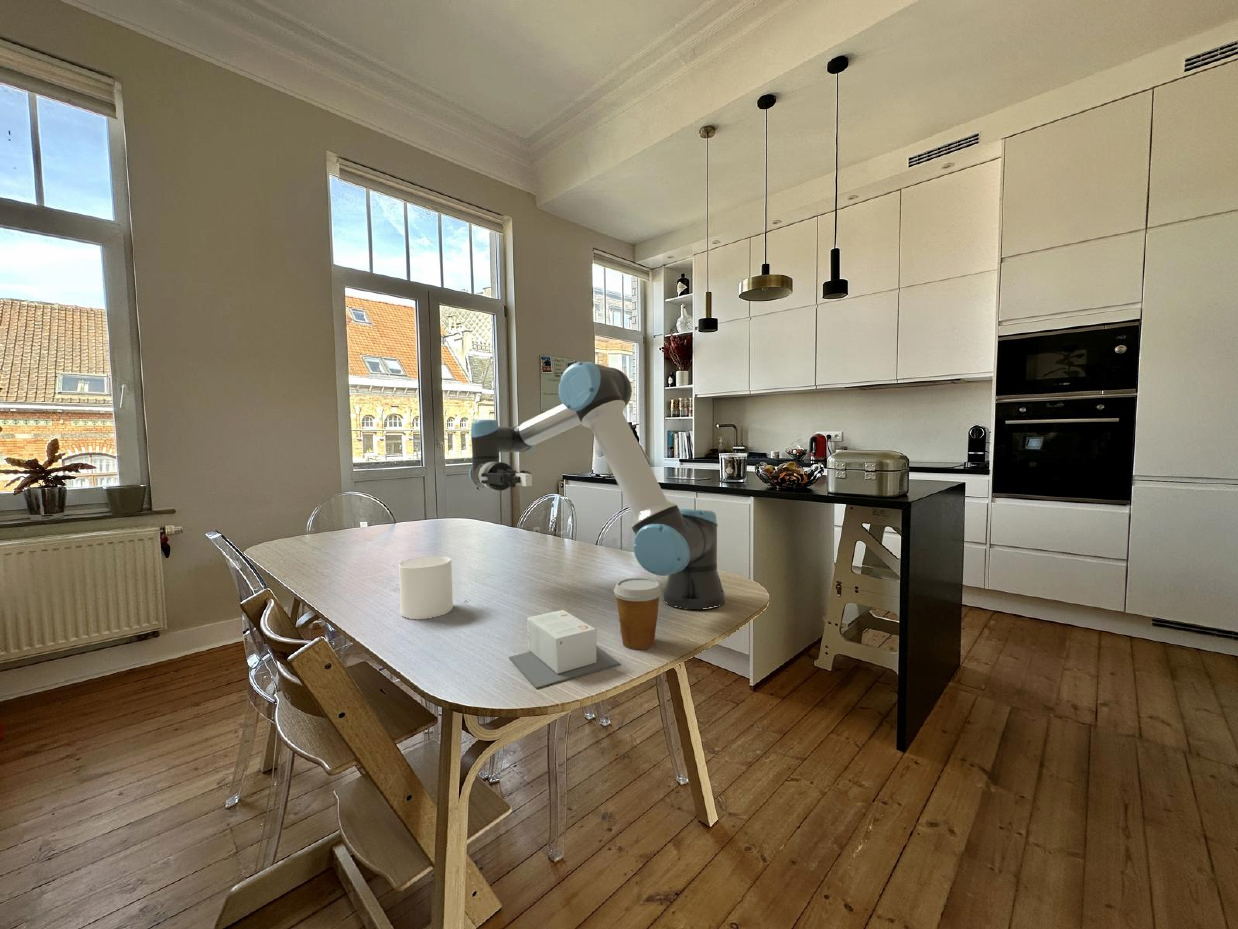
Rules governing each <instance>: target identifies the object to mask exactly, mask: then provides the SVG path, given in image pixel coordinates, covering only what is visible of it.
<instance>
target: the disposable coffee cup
mask: <svg viewBox="0 0 1238 929" xmlns="http://www.w3.org/2000/svg"><path fill="white" fill-rule="evenodd" d="M662 591H663V590H662V587H661V585H660V582H659V581H658V580H655V579H652V578H649V577H648V578H647V577H628V578H624V579H620V580H618V581H617V582H616V583H615V587H614V588H613V593H614V595H615V597H616V604H617V611H618V620H619V626H620V633H621V639H622V640H621V641H622V645H623V646H624V647H625V648H627V649H630V650H646V649H647V650H648V649H650V648H651V647H653V646H654V645H655V639H656V630H657V621H658V612H659V603H660V597H661V594H662ZM649 647H650V648H649Z"/></svg>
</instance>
